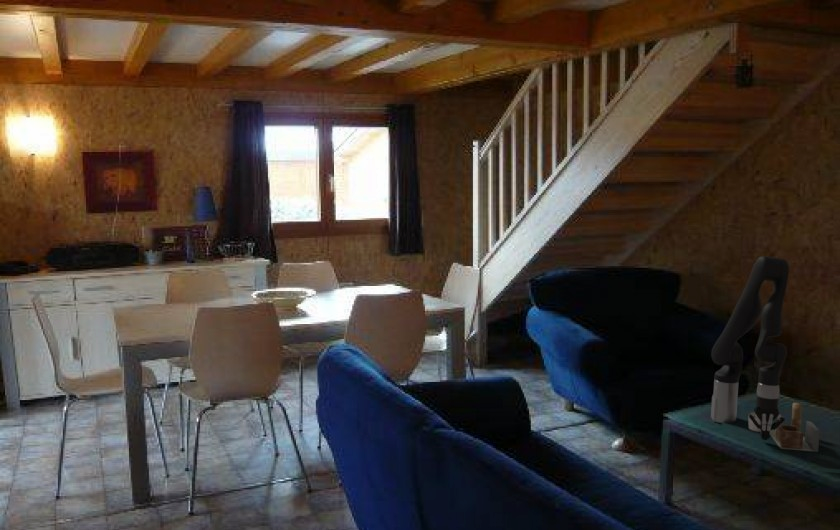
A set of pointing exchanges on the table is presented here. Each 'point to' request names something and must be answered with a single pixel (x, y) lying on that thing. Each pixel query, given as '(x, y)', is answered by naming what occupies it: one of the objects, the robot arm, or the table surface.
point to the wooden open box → (789, 436)
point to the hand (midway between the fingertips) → (764, 439)
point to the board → (804, 447)
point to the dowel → (796, 414)
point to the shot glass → (752, 425)
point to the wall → (812, 436)
